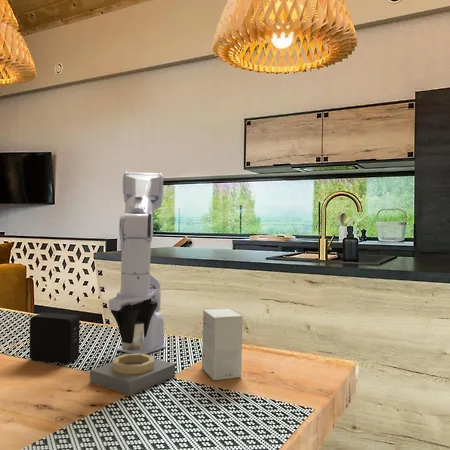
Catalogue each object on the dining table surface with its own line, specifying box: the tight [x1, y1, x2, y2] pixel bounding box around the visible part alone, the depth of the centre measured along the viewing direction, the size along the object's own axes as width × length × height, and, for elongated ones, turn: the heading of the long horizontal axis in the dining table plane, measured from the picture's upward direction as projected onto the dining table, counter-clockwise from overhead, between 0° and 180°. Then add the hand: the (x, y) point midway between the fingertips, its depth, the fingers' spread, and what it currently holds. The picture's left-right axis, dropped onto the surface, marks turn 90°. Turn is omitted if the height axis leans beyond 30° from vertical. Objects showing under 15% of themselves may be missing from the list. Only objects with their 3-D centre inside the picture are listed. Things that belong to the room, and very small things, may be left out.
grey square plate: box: [89, 353, 176, 396], centre depth 94 cm, size 13×11×4 cm
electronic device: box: [29, 312, 81, 365], centre depth 105 cm, size 4×10×10 cm, turn 78°
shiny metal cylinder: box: [121, 321, 144, 351], centre depth 94 cm, size 4×4×5 cm
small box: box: [201, 308, 243, 381], centre depth 99 cm, size 8×6×13 cm
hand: (134, 339), depth 94 cm, fingers closed on shiny metal cylinder, 4 cm apart
